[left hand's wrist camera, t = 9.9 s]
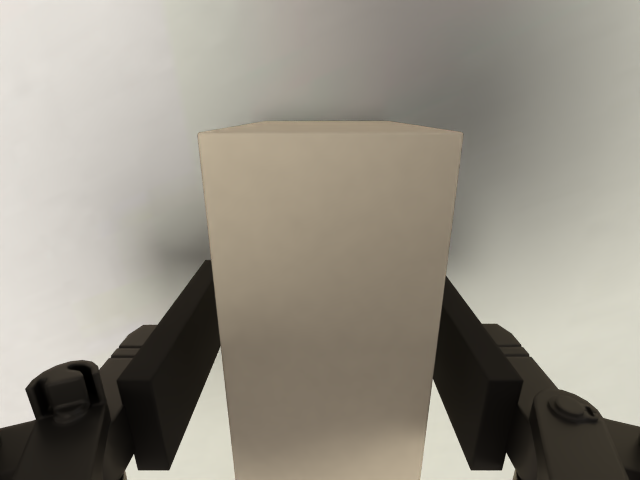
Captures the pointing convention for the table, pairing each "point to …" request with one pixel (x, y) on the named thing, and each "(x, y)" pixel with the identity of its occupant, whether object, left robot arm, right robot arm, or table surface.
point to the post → (329, 291)
